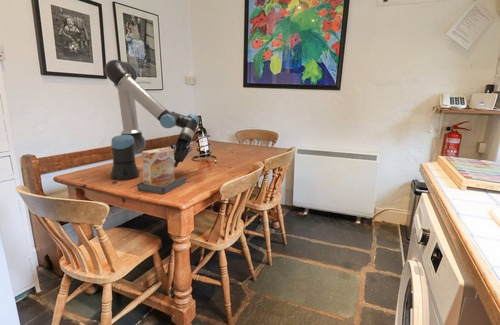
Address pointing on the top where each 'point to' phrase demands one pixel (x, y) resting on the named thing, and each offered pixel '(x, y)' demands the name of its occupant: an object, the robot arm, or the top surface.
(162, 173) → the coffeecake box
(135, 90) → the robot arm
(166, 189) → the dock
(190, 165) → the top surface
